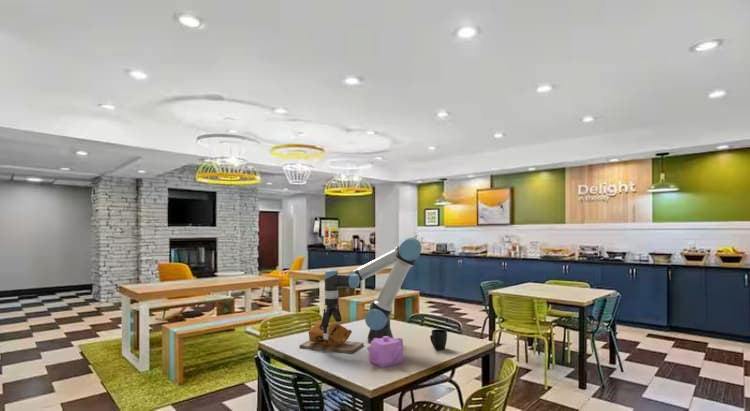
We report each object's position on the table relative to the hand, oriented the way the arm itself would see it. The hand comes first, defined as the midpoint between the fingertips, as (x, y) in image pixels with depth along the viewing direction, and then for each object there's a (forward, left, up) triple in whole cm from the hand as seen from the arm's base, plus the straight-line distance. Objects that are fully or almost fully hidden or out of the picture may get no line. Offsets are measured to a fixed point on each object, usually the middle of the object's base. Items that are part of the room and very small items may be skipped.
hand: (331, 336), depth 228 cm
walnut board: (0, 0, -6) cm, 6 cm away
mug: (-57, -14, -6) cm, 59 cm away
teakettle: (-38, +15, -6) cm, 41 cm away
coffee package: (+12, 0, +2) cm, 12 cm away
